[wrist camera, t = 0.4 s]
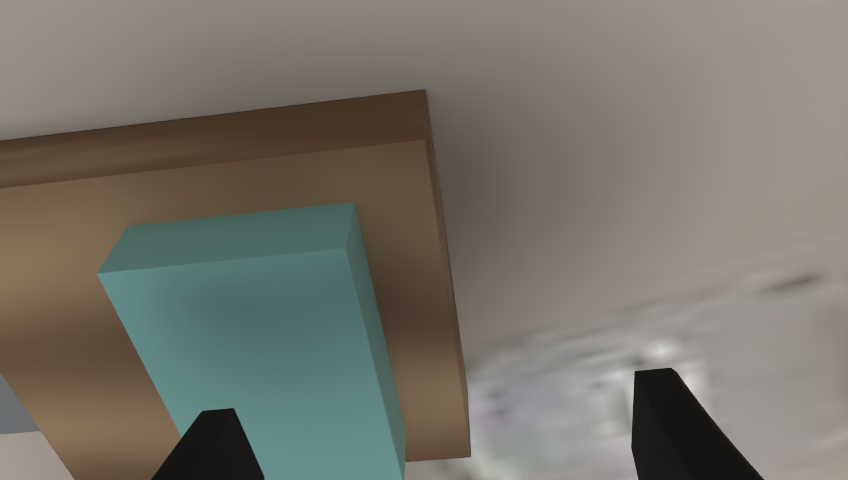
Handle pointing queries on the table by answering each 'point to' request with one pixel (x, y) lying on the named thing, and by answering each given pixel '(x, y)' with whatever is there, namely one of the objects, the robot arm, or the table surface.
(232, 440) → the robot arm
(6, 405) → the mat
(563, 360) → the table surface
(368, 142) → the deck
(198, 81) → the table surface
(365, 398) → the teal rectangular block
